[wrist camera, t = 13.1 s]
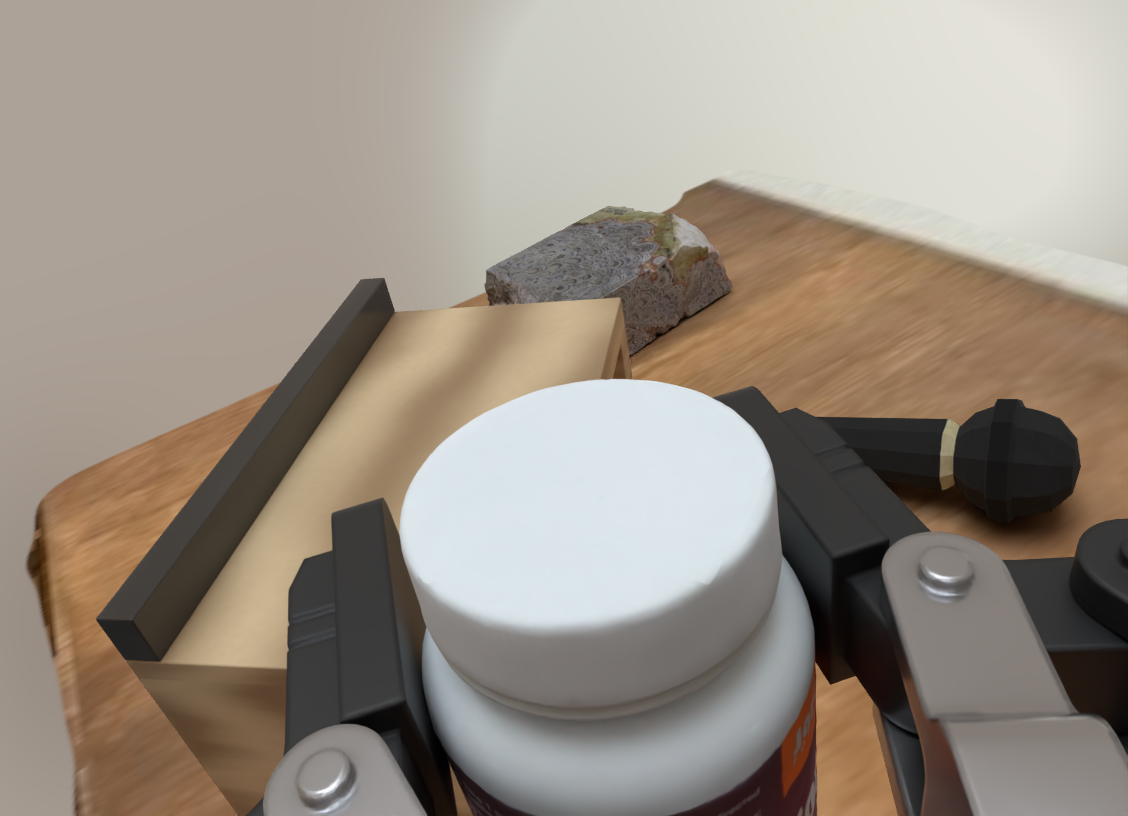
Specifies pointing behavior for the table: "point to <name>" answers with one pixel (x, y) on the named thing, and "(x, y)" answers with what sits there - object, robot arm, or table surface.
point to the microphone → (974, 456)
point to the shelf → (323, 500)
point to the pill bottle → (612, 609)
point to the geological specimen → (618, 269)
